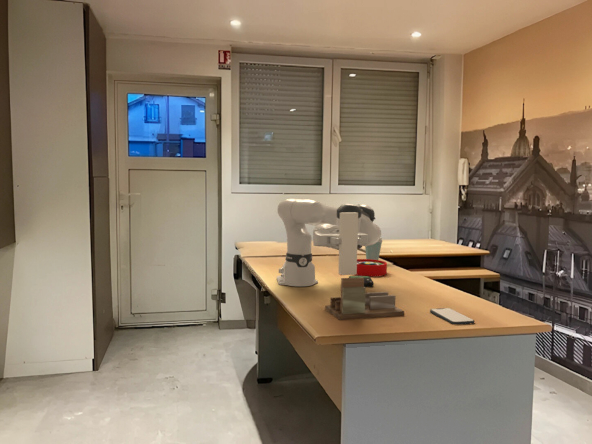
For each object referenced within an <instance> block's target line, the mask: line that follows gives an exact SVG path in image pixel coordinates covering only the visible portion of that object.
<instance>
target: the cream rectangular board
mask: <svg viewBox="0 0 592 444" xmlns="http://www.w3.org/2000/svg"><path fill="white" fill-rule="evenodd" d="M339 238H340V239H341V244H339V250H338V272H337V273H338V275H340V276H357V275H356V274H357V259H358V249H357V239H358V213H340V225H339Z"/></svg>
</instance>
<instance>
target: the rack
mask: <svg viewBox="0 0 592 444" xmlns="http://www.w3.org/2000/svg"><path fill="white" fill-rule="evenodd" d="M340 302H341V296H339V297H338V296H336V297H330V304H329V305H324V310H325V311H326V312H327V313H329V314H331V315H332V316H334V318H336V319H338V320H339V321H343V320H345V321H346V320H355V319H356V320H358V319H370V318H371V319H372V318H384V317H399V316H405V311H404V310H403V309H401V308H399V307H397V306H396V295H395V294H389V291H379V292H378V291H377V292H375V291H373V292H366V293H365V313H358V314H342V313H341V312H340Z"/></svg>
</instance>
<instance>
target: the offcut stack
mask: <svg viewBox="0 0 592 444" xmlns="http://www.w3.org/2000/svg"><path fill="white" fill-rule="evenodd" d="M340 279H341V280H340V297H341V302H340V312H341V313H342V314H358V313H365V293H367V292H366V291H367V290H366V289H367V287H364V278H363V277H358V278H349V277H341V278H340Z"/></svg>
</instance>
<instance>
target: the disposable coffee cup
mask: <svg viewBox="0 0 592 444" xmlns="http://www.w3.org/2000/svg"><path fill="white" fill-rule="evenodd" d="M382 243H383V240H382V238H381V237H380V239H379V240H378V241H377V242H376V243H375V244H373V245H370V246H364V249H365V259H372V260H379V259H380V253H381V248H382Z"/></svg>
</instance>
